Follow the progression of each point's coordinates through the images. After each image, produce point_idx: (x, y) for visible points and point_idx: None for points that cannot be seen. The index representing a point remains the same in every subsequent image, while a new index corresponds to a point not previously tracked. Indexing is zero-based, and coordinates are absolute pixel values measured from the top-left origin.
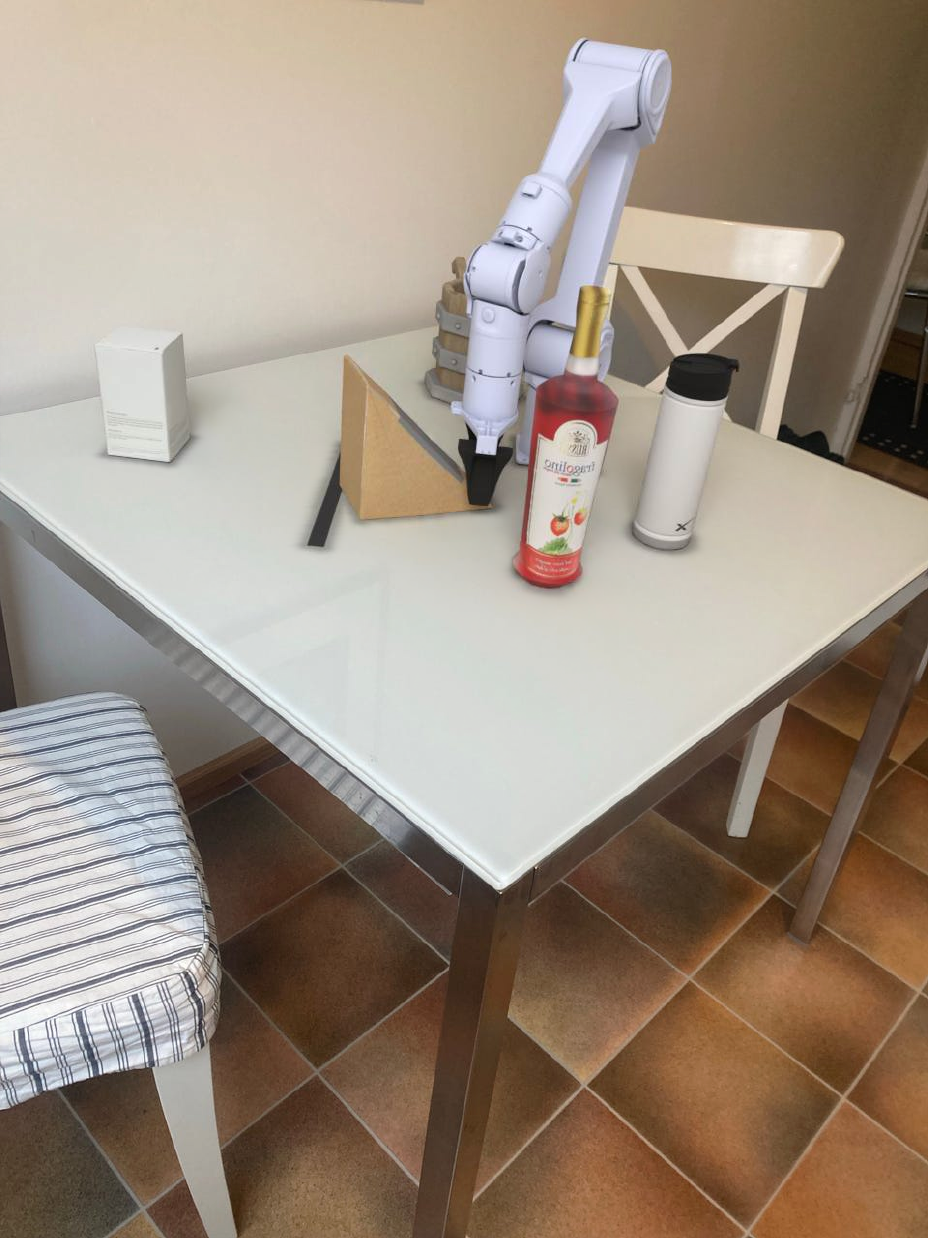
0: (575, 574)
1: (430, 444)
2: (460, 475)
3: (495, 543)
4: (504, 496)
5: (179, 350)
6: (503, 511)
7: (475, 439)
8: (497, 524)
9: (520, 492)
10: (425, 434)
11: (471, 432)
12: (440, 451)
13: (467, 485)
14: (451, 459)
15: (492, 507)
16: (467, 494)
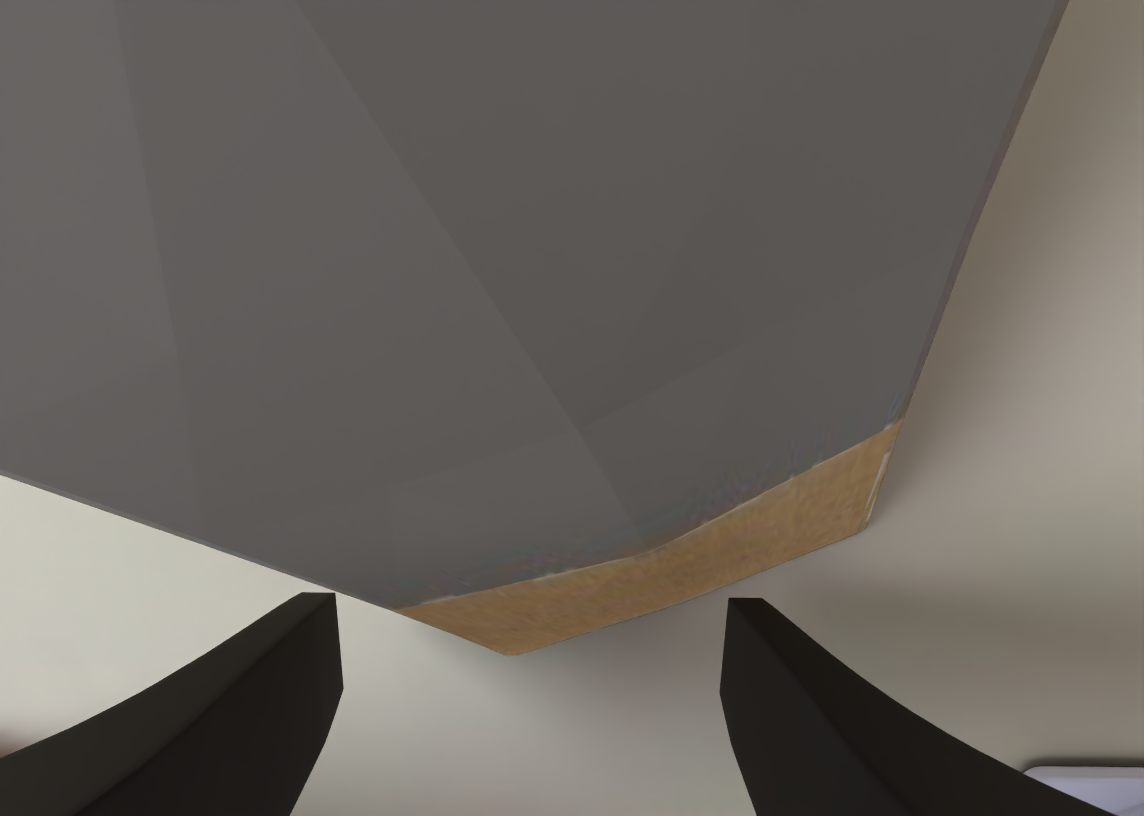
0: None
1: (48, 454)
2: (374, 601)
3: (150, 667)
4: (647, 705)
5: None
6: (484, 700)
7: (827, 777)
8: (342, 675)
9: (705, 772)
10: (414, 360)
11: (856, 797)
12: (429, 499)
13: (207, 654)
14: (601, 538)
15: (507, 655)
16: (266, 614)
